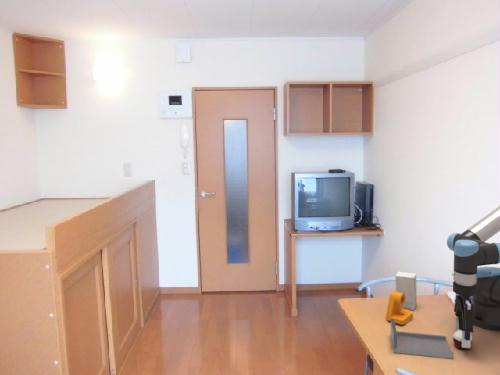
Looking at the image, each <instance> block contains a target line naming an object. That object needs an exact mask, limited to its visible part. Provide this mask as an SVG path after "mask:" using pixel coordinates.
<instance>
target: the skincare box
mask: <svg viewBox="0 0 500 375" xmlns="http://www.w3.org/2000/svg"><path fill="white" fill-rule="evenodd" d="M395 291H396V292H400V293H403V294H405V303H404V305H403V306H402V309H405V310H409V311H415V309H416V308H417V305H418V304H417V302H418V301H417V299H418V298H417V296H418V295H417V273H416V272H407V271H399V270H398V271H397V273H396V274H395Z"/></svg>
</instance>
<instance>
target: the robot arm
mask: <svg viewBox="0 0 500 375" xmlns="http://www.w3.org/2000/svg"><path fill="white" fill-rule="evenodd" d="M499 232H500V205H499V206H497V207H496V208H495V209H493V210H492V211H491V212H489V213H488V214H486V215H485V216H484V217H482V218H481V219H480V220H478V221H477V222H475V223H474V224H473V225H472V226H470V227H469V228H467V229H466V230H465V231H463V232H462V233H458V232H453V233H451V234H450V235H448V237H447V240H446V245H447V247H448V249H449V250H450V251H452V252H453V272H452V273H451V276H452V277H453V281H452V291H453V293H455V300H454V306H453V312H454V317H455V318H454V333H455V332H456V331H458V330H459V321H458V312H459V311H460V312H462V319H463V329H461V331H462V347H463V348H468V349H471V347H472V344H471V335H472V333H474V332H475V331H474V326H476V327H479V328H483V329H484V330H485V329H486V330H493V331H500V267H497V266H490V265H498V264H500V242H490V243H489V242H486V241H488V240H489V239H491V238H492V237H494V236H495V235H496V234H497V233H499ZM488 265H489V266H488ZM471 297H472V298H471Z"/></svg>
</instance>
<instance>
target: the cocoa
mask: <svg viewBox="0 0 500 375" xmlns="http://www.w3.org/2000/svg"><path fill="white" fill-rule="evenodd" d="M458 321H459V330H458V331H456V332H455V331H454V333H453V335H452V336H453V337H452V340H453V344H454V345H455V346H456V348H458V349H460V350H464V351H465V350H468V349H469V348H463V347H462V331H461V329H463V319H462V312H460V311H459V312H458ZM472 343H473V336H472V334H471V345H472Z"/></svg>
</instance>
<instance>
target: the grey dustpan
mask: <svg viewBox="0 0 500 375" xmlns="http://www.w3.org/2000/svg"><path fill="white" fill-rule="evenodd" d="M390 339H391V345H392V350H393V353H394V354H403V355H404V354H405V355H410V356H411V355H412V356H420V357H421V356H422V357H430V358H431V357H432V358H439V359H451V360H453V359H454V355H455V354H454V352H452V349H451V348H450V344H449V343H448V340H447V335H443V334H442V335H441V334H431V333H430V334H429V333H420V332H419V333H418V332H408V331H407V332H406V331H399V330H398V331H397V326H396V323H395V321H394V319H391V321H390Z"/></svg>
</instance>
